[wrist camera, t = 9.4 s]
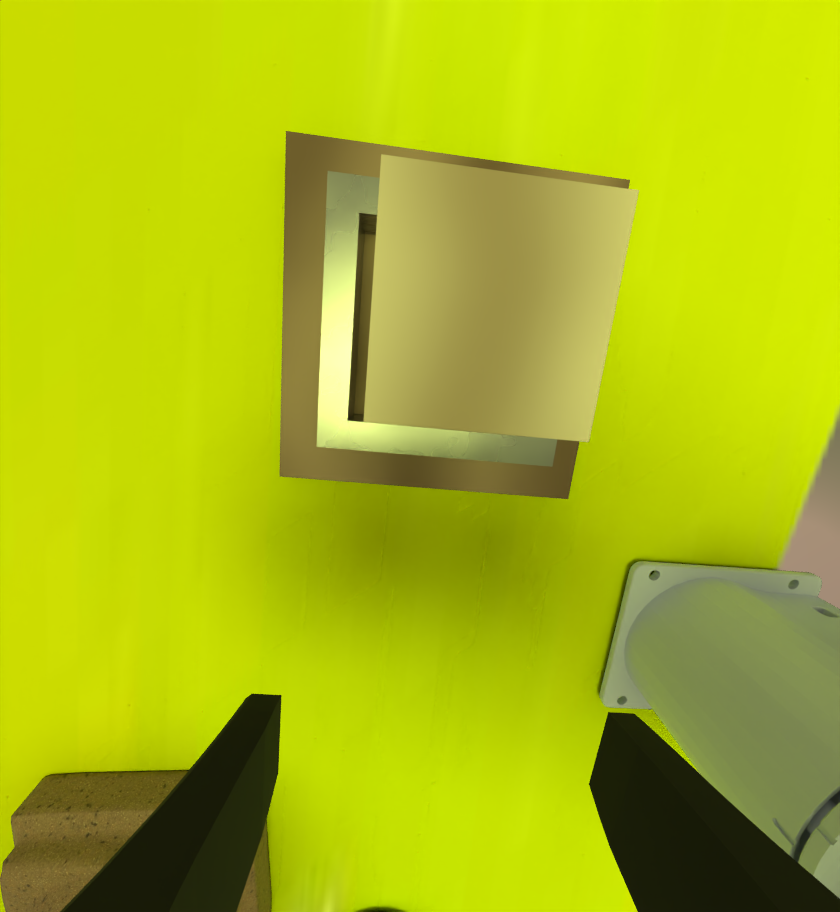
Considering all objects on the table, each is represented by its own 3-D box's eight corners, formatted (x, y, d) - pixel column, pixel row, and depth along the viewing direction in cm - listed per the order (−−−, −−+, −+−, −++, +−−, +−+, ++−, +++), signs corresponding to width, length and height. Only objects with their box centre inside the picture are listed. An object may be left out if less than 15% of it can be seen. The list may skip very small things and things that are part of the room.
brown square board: (614, 192, 15) (630, 180, 14) (558, 491, 17) (568, 499, 17) (294, 147, 14) (286, 131, 13) (286, 469, 17) (279, 476, 16)
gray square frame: (571, 229, 14) (599, 207, 12) (533, 454, 16) (552, 466, 14) (337, 198, 13) (327, 170, 12) (327, 436, 15) (316, 446, 13)
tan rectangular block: (509, 283, 14) (639, 190, 7) (492, 402, 15) (588, 442, 8) (391, 270, 14) (381, 154, 6) (381, 392, 15) (363, 421, 7)
